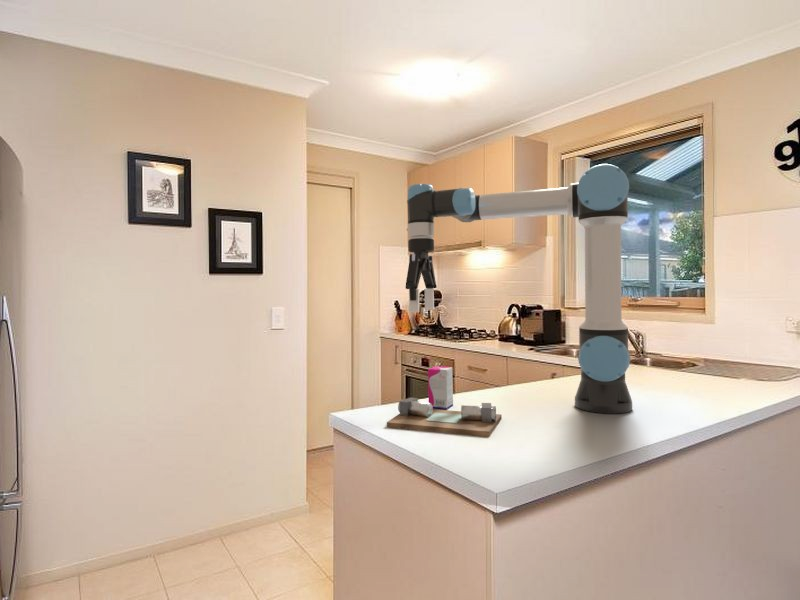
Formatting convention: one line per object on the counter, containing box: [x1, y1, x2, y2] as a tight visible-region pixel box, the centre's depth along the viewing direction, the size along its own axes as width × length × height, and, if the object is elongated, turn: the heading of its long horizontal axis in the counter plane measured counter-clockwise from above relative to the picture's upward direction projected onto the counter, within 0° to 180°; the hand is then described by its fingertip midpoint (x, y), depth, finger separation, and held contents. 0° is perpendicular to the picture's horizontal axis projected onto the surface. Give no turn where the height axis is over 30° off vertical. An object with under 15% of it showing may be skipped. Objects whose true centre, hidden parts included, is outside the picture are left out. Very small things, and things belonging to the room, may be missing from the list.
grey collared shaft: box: [460, 402, 497, 423], centre depth 125 cm, size 9×5×4 cm, turn 80°
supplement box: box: [427, 366, 454, 410], centre depth 144 cm, size 6×6×12 cm
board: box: [386, 409, 503, 438], centre depth 128 cm, size 26×16×1 cm, turn 68°
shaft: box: [397, 397, 433, 417], centre depth 131 cm, size 9×5×4 cm, turn 57°
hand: (422, 311), depth 145 cm, fingers open, 13 cm apart
